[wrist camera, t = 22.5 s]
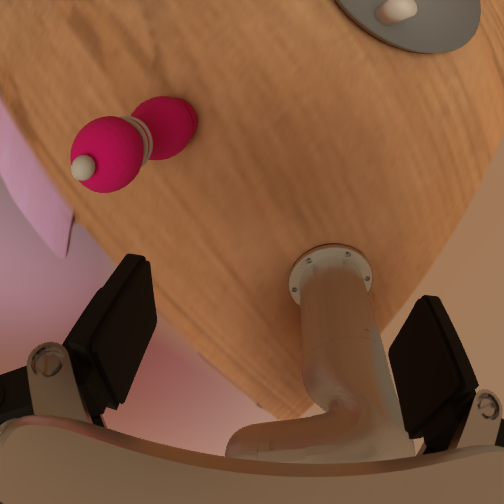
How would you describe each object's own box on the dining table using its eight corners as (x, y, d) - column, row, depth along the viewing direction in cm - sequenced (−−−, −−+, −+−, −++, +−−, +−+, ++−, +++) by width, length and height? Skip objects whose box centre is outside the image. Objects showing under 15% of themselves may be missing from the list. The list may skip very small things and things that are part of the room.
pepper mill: (137, 114, 33) (26, 159, 16) (182, 83, 31) (83, 96, 14) (165, 159, 36) (76, 236, 19) (212, 131, 34) (141, 189, 17)
